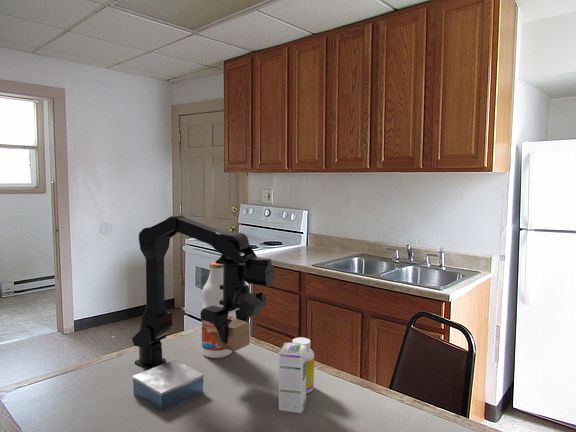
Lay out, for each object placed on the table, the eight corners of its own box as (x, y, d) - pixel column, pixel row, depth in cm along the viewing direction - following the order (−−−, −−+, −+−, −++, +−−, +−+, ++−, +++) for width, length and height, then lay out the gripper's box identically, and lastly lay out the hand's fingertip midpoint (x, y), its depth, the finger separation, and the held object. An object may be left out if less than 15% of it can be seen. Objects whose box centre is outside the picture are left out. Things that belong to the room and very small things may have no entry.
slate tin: (132, 395, 105) (132, 375, 105) (174, 377, 115) (174, 359, 114) (161, 413, 97) (161, 393, 97) (204, 393, 107) (204, 374, 107)
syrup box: (302, 414, 98) (304, 353, 97) (277, 410, 99) (278, 350, 98) (306, 401, 103) (307, 343, 102) (282, 398, 105) (283, 341, 103)
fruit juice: (239, 351, 132) (239, 262, 129) (216, 361, 124) (216, 267, 122) (218, 343, 138) (218, 258, 135) (195, 352, 130) (195, 263, 128)
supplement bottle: (317, 386, 111) (318, 338, 110) (307, 397, 105) (309, 347, 104) (294, 380, 114) (295, 334, 113) (283, 391, 108) (284, 342, 107)
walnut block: (217, 345, 112) (217, 323, 111) (232, 338, 117) (233, 317, 116) (234, 351, 108) (234, 328, 108) (249, 344, 113) (249, 322, 113)
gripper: (232, 294, 99) (231, 359, 100) (280, 279, 114) (278, 336, 115) (199, 286, 105) (198, 347, 106) (248, 273, 120) (247, 327, 122)
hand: (233, 339), depth 112 cm, fingers closed on walnut block, 6 cm apart
